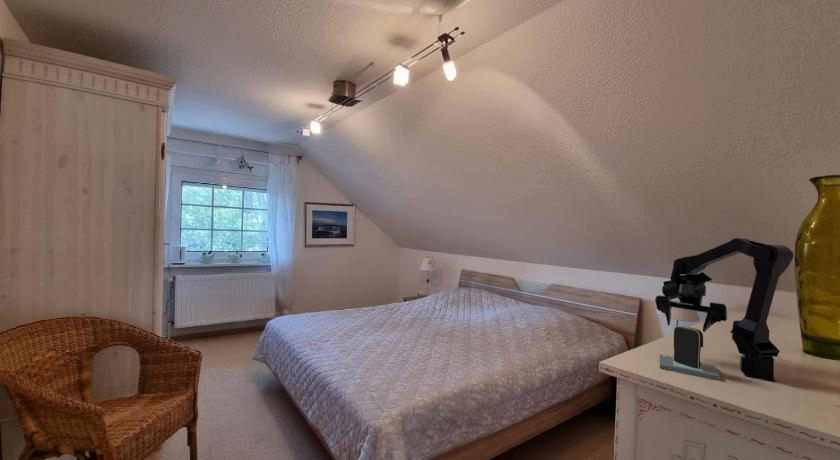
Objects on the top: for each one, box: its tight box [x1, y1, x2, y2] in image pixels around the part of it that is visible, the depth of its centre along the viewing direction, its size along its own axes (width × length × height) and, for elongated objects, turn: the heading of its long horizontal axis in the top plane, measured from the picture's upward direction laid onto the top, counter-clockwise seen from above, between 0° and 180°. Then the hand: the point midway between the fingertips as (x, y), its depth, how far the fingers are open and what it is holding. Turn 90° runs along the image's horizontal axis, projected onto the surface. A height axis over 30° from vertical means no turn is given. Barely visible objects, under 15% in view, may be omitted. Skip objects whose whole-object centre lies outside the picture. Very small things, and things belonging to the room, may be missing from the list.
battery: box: [673, 325, 704, 368], centre depth 106 cm, size 7×4×11 cm, turn 23°
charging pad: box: [659, 354, 721, 382], centre depth 106 cm, size 14×12×1 cm
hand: (685, 327), depth 111 cm, fingers open, 9 cm apart
